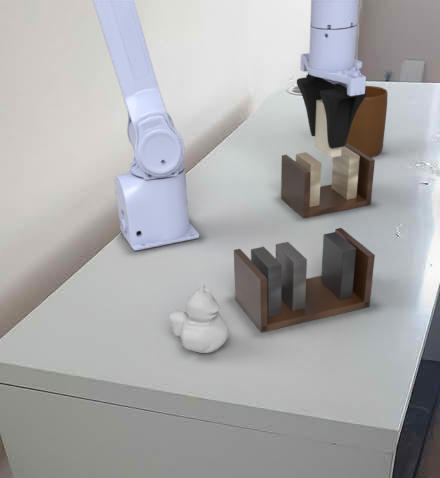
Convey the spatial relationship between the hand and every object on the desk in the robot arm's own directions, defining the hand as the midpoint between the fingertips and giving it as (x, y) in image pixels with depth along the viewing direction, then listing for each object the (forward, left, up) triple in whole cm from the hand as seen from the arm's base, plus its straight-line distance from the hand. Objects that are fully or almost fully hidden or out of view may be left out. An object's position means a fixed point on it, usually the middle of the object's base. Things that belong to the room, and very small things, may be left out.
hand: (327, 140), depth 97 cm
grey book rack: (-14, -22, -10) cm, 28 cm away
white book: (0, 0, -1) cm, 1 cm away
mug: (+15, +22, -10) cm, 28 cm away
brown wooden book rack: (+2, +4, -10) cm, 11 cm away
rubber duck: (-28, -26, -10) cm, 40 cm away
